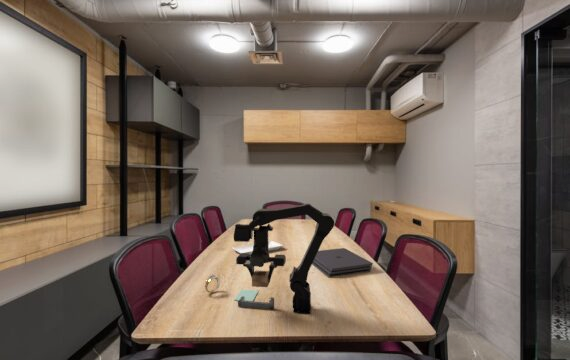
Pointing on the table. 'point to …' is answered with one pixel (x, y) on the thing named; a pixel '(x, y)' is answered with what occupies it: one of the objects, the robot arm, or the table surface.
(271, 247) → the tray
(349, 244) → the table surface
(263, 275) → the brown square cubby
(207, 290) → the ring
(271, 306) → the hook
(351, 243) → the table surface
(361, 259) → the gaming console
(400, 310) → the table surface
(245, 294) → the pad
